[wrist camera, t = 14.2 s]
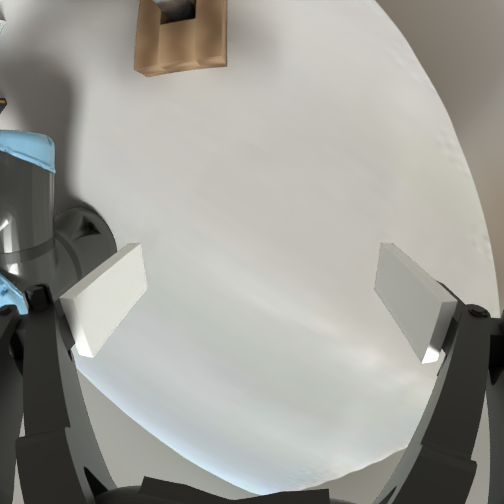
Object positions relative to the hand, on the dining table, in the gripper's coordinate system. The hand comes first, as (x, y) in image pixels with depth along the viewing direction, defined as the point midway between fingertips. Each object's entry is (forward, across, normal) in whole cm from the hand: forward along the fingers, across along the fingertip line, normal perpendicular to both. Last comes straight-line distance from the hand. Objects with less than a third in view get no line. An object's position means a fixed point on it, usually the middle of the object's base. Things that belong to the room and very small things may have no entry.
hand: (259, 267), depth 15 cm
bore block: (+27, -11, +28) cm, 40 cm away
